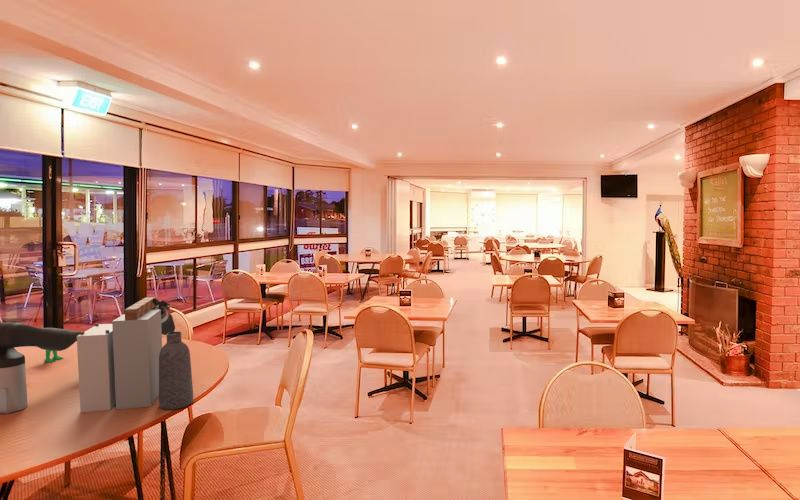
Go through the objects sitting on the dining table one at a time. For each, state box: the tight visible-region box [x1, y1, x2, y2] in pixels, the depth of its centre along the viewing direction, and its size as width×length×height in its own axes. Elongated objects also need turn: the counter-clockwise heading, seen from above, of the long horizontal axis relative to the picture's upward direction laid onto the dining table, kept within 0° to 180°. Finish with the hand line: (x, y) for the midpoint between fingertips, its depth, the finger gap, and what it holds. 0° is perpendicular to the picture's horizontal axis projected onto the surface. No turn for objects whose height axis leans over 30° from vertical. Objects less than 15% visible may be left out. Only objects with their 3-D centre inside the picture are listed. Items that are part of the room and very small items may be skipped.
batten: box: [124, 296, 157, 320], centre depth 192 cm, size 28×4×4 cm, turn 14°
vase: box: [158, 331, 194, 411], centre depth 183 cm, size 12×12×28 cm
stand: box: [76, 310, 163, 413], centre depth 187 cm, size 20×24×34 cm
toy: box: [43, 350, 64, 363], centre depth 240 cm, size 26×6×15 cm, turn 168°
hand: (148, 300), depth 202 cm, fingers closed on batten, 4 cm apart
